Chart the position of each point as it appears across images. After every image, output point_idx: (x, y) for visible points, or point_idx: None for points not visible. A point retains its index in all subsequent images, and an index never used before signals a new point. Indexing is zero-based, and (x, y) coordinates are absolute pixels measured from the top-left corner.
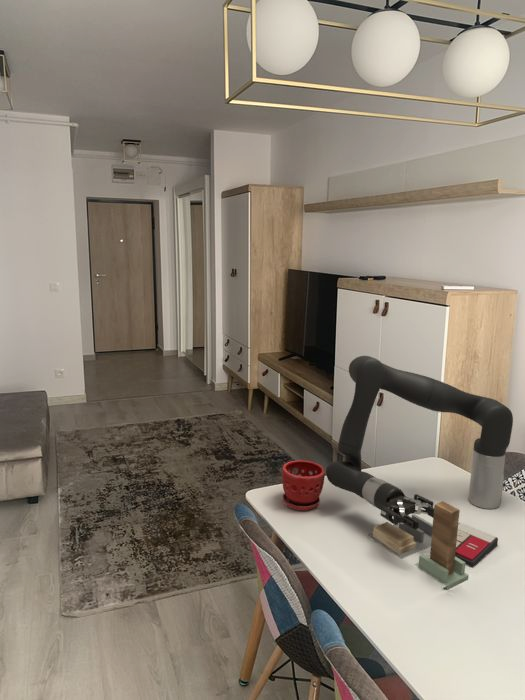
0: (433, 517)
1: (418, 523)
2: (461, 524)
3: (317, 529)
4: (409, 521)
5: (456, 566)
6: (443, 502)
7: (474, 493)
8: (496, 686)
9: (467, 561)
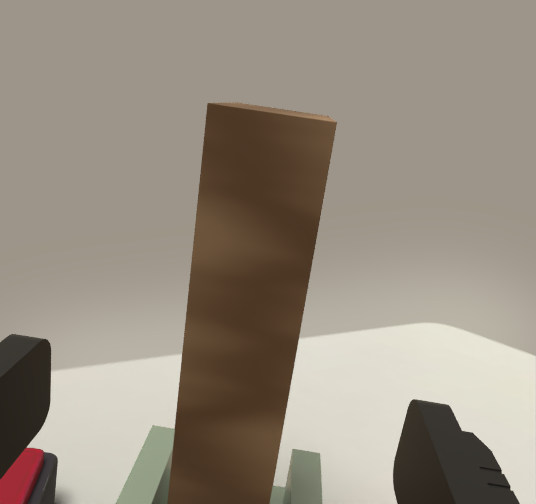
0: (309, 268)
1: (407, 411)
2: None
3: None
4: (499, 475)
5: (167, 484)
6: (230, 105)
7: None
8: (468, 339)
9: (51, 480)
